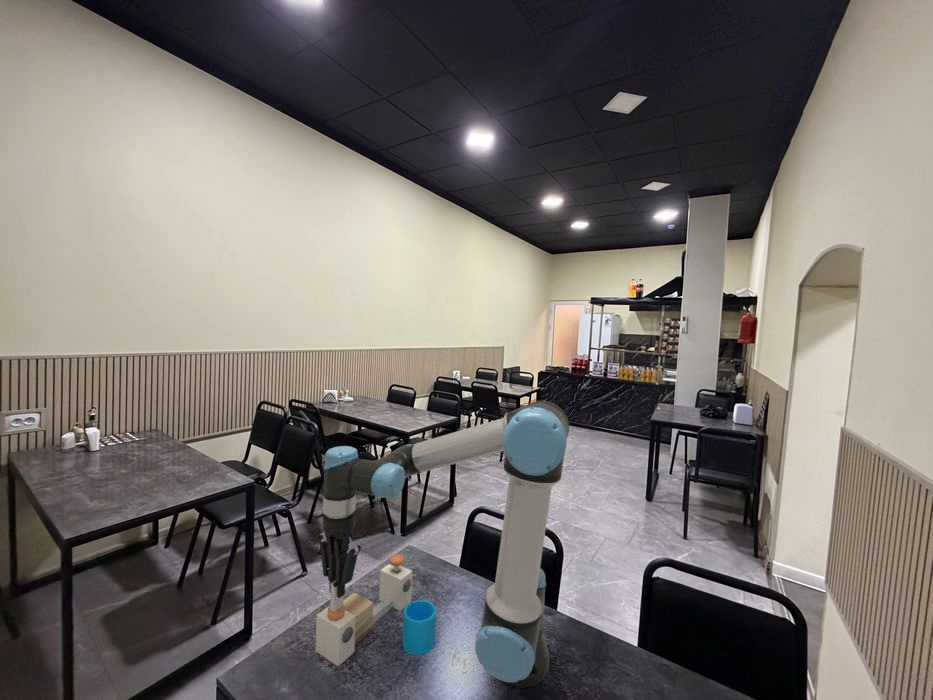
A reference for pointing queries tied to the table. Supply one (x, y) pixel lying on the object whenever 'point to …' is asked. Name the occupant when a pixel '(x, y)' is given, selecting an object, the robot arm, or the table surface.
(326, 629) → the cabinet
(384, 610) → the rail
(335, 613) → the plunger
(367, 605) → the block
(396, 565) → the plunger
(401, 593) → the cabinet
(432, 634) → the mug
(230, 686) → the table surface
